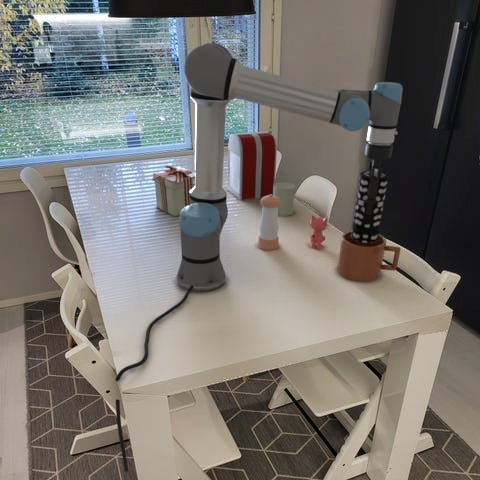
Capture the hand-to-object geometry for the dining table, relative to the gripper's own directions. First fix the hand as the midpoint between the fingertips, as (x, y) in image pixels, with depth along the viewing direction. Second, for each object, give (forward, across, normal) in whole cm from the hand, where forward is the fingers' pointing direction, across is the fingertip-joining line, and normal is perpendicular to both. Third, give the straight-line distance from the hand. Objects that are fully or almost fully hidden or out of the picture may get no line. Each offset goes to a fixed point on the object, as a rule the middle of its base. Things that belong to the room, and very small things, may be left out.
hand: (367, 218), depth 150 cm
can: (+19, +50, +34) cm, 63 cm away
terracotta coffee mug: (+19, 0, -2) cm, 19 cm away
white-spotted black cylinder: (+7, 0, 0) cm, 7 cm away
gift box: (+19, +40, +78) cm, 90 cm away
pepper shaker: (+19, +13, +33) cm, 40 cm away
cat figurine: (+19, +17, +16) cm, 30 cm away
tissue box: (+19, +72, +53) cm, 91 cm away
